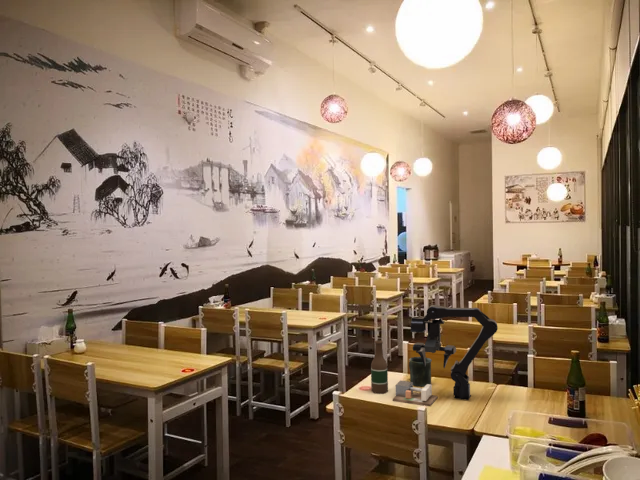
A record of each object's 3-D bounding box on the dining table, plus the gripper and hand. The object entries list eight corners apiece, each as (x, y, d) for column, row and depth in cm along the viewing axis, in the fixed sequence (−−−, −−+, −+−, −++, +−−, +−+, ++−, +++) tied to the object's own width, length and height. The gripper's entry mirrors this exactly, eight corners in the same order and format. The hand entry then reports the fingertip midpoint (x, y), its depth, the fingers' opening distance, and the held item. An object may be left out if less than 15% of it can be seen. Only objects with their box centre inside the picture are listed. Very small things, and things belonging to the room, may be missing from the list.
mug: (418, 388, 240) (417, 363, 239) (401, 380, 253) (400, 356, 253) (436, 385, 244) (436, 360, 244) (419, 377, 257) (418, 354, 257)
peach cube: (411, 397, 223) (411, 390, 223) (410, 398, 221) (409, 392, 221) (407, 396, 224) (406, 390, 224) (405, 398, 222) (405, 391, 222)
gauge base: (437, 397, 226) (437, 395, 226) (430, 406, 215) (430, 403, 215) (401, 392, 234) (401, 390, 234) (392, 400, 223) (392, 398, 223)
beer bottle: (387, 394, 232) (386, 342, 232) (370, 393, 234) (369, 342, 233) (388, 389, 240) (387, 339, 239) (372, 388, 241) (371, 338, 241)
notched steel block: (413, 393, 230) (412, 382, 230) (408, 397, 224) (408, 386, 224) (400, 391, 233) (400, 380, 233) (395, 395, 227) (395, 384, 227)
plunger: (431, 394, 226) (431, 384, 226) (425, 401, 218) (425, 390, 218) (412, 391, 230) (412, 382, 230) (405, 398, 222) (405, 388, 222)
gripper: (408, 334, 226) (409, 369, 226) (450, 338, 218) (450, 374, 218) (415, 330, 236) (416, 363, 236) (456, 333, 227) (456, 367, 228)
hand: (434, 367), depth 229 cm, fingers open, 9 cm apart
